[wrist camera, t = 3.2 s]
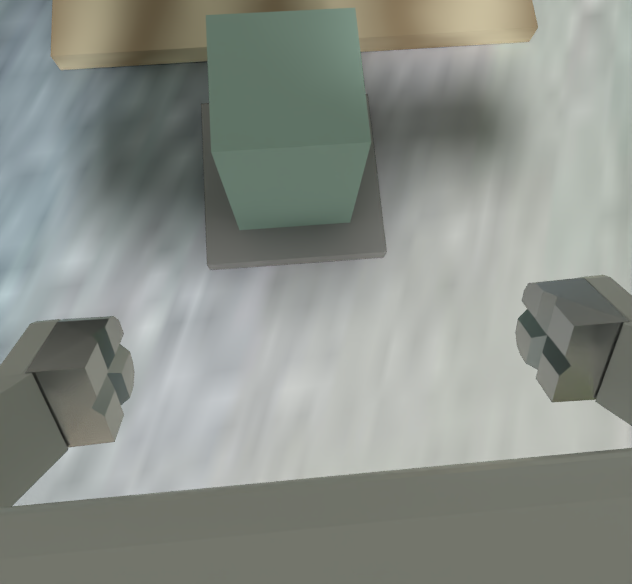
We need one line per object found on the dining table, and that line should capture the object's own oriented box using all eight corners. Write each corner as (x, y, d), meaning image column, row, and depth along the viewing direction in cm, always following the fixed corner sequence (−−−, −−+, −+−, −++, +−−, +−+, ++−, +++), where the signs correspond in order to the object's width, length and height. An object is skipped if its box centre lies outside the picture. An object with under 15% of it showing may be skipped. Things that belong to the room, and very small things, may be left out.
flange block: (211, 270, 23) (163, 200, 15) (205, 115, 24) (159, -21, 16) (383, 258, 23) (424, 183, 15) (365, 106, 25) (393, -32, 17)
